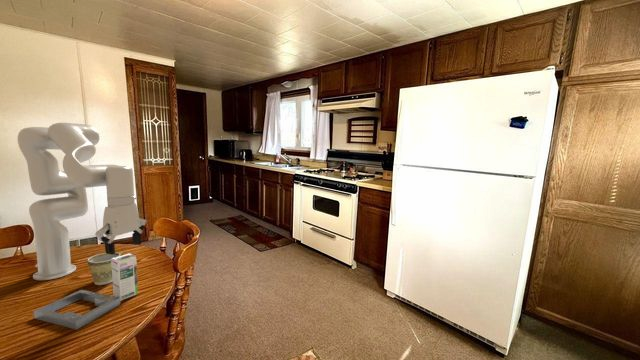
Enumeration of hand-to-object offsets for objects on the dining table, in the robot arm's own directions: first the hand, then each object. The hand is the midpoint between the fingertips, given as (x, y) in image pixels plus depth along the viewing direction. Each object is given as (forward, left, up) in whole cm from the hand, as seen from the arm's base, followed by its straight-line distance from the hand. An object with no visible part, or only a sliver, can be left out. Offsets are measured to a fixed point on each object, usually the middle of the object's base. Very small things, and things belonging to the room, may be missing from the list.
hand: (124, 248), depth 92 cm
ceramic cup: (-17, +7, -18) cm, 26 cm away
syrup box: (0, 0, -18) cm, 18 cm away
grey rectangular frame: (-5, -11, -18) cm, 22 cm away
